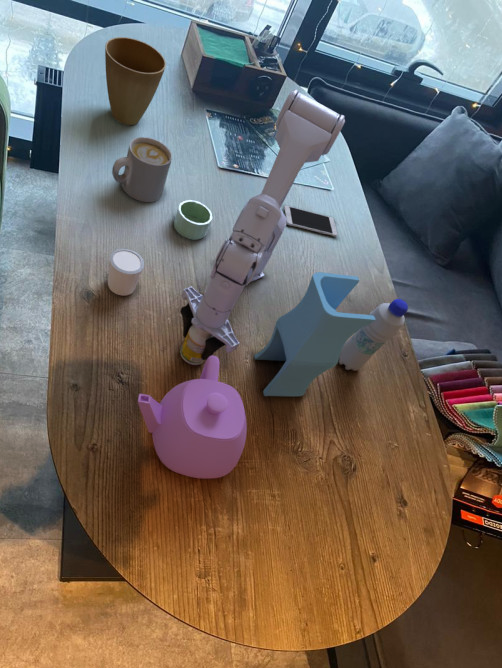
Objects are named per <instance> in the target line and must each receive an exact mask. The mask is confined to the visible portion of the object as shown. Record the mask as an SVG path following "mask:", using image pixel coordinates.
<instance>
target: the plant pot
mask: <svg viewBox="0 0 502 668" xmlns="http://www.w3.org/2000/svg"><path fill="white" fill-rule="evenodd" d="M104 56H105V58H104V59H105V62H104V63H105V80H106V89H107V90H106V91H107V97H108V102H109V108H110V112H111V116H112V117H113V119H114V120H115V121H117V122H118V123H120V124H122V125H126V126H135V125H137V124H139V122H140V121H141V120H142V118H143V116H144V115H145V113H146V111H147V110H148V108H149V106H150V104H151V102H152V100H153V99H154V96H155V95H156V92H157V91H158V88H159V85H160V82H161V80H162V78H163V76H164V72H165V69H166V66H167V62H166V60H165V57H164V56H163V54H162V53H161V52H160V51H159V50H158V49H156V48H155V47H154V46H152V45H151V44H148V43H147V42H144V41H142V40H139V39H136V38H131V37H125V36H118V37H113V38H110V39H108V40H107V41H106V43H105V45H104Z"/></svg>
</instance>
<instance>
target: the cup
mask: <svg viewBox="0 0 502 668" xmlns="http://www.w3.org/2000/svg"><path fill="white" fill-rule="evenodd" d="M212 222H213V213H212V211H211V209H209V207H208V206H207V205H205V204H204V203H203V202H200V201H198V200H194V199H193V200H191V199H186V200H183V201H181V202H180V203H179V204H178V207H177V209H176V212H175V216H174V220H173V227H174V229H175V231H176V232H177V233H178V234H179V235H181V236H182V237H184V238H186V239H188V240H195V241H197V240H201V239H203V238H205V237H206V235H207V234H208V231H209V229H210V226H211V223H212Z"/></svg>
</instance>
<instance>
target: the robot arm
mask: <svg viewBox="0 0 502 668" xmlns="http://www.w3.org/2000/svg"><path fill="white" fill-rule="evenodd" d="M345 123H346V119H345V115H343V114H339V113H337V112H336V111H334V110H332V109H331V108H329V107H327V106H326V105H323V104H321V103H320V102H318V101H316V100H314V99H312V98H310V97H309V96H307V95H305V94H304V93H302V92H300V90H298V89H297V88H295V89H293V90H291V91H290V92H289V94H288V95H287V97H286V99H285V100H284V103H283V104H282V107H281V109H280V111H279V113H278V115H277V118H276V121H275V124H274V127H275V131H276V133H275V134H274V140H275V142H276V143H277V145H278V148H279V150H278V152H277V155H276V157H275V160H274V162H273V164H272V166H271V169H270V172H269V173H268V176H267V179H266V181H265V182H264V183H265V184H264V185H263V188H262V190H261V193H260V194H257V195H255V196H252V197H251V198H249V199H248V201H246V202H245V204H244V205H243V208H242V209H241V211H240V213H239V214H238V216H237V218H236V221H235V223H234V225H233V227H232V232H231V234H230V236H229V238H228V237H227V238H226V239H225V240H224V241H223V243H222V245H221V247H220V249H219V251H218V252H217V254H216V257H215V259H214V262H213V266H212V270H211V273H210V275H209V277H210V279H209V281H208V284H207V285H206V287H205V290H204V292H203V294H201V293H200V292H199V291H197V290H196V289H195V288H194V287H193V286H192V285H190V286H188V287H186V288H183V289H182V292H181V294H180V297H181V299H183V300H184V301H185V300H187V304H186V305H185V306H182V307H181V308H180V314H181V318H182V322H183V323H182V325H183V327H182V336H183V338H184V339H185V338H186V336H187V333H188V331H189V329H190V327H191V326H192V325H194V326H195V327H196V328H197V329H199V328H203V329H204V330H206V331H207V332H209V333H210V334H212V335H213V337H211V338H208V339H206V340H205V342H206V345H205V349H204V352H203V353H202V355H201V358H202V360H204V361H205V360H207V359H208V357H209V356H212V355H213V356H214V354H215V353H216V352H217V351H218V350H220V349H221V348H223V347H225V351H226V352H227V353H228V354H230V353H232V352H234V351H235V350H237V349H238V347H239V345H240V341H239V340H238V339H237V336H236V335H235V333H234V331H233V328H232V325H231V323H230V321H229V317H230V315H231V313H232V311H233V310H234V307H235V306H236V304H237V302H238V300H239V298H240V296H241V295H242V293H243V291H244V289H245V287H247V286H248V285H249V284H250V283H252V282H254V281H256V280H259V279H261V278H264V277H265V273H264V270H265V268H266V266H267V265H268V262H269V261H270V259H271V257H272V255H273V252H274V250H275V248H276V246H277V245H278V243H279V240H280V239H281V236H283V233H284V232H285V228H286V226H287V225H288V224H287V222H286V221H287V218H286V215H285V212H283V210H282V206H283V203H284V202H285V200H286V198H287V196H288V194H289V192H290V190H291V188H292V186H293V184H294V183H295V180H296V179H297V177H298V174H299V173H300V171H301V169H302V168H303V167H304V164H306V163H314V162H318V161H319V160H320V159H321V156H322V157H324V156H325V155H328V154H329V152H330V151H331V149H332V148H333V146H334V144H335V142H336V140H337V138H338V136H339V134H340V133H341V131H342V129H343V127H344V125H345Z"/></svg>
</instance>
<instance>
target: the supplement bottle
mask: <svg viewBox="0 0 502 668" xmlns="http://www.w3.org/2000/svg"><path fill="white" fill-rule="evenodd" d="M211 337H213V335H212V334H210V333H209V332H207V331H206V330H204V329H203V328H199V329H197V328H196V327H195V326H194V325H192V326H191V327H190V329H189V331H188V333H187V336H186V338H185V337H184V340H183V343H182V345H181V346H180V351H179V352H180V356H181V359H182V360H183V361H184V362H185V363H187V364H190V365H192V366H199V365H201V364H202V363H205V360H202V358H201V355H202V353H203V352H204V349H205V345H206V342H205V340H206V339H208V338H211Z"/></svg>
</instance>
